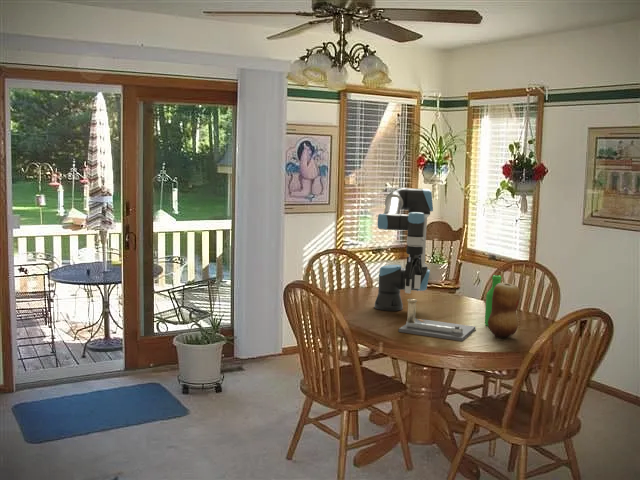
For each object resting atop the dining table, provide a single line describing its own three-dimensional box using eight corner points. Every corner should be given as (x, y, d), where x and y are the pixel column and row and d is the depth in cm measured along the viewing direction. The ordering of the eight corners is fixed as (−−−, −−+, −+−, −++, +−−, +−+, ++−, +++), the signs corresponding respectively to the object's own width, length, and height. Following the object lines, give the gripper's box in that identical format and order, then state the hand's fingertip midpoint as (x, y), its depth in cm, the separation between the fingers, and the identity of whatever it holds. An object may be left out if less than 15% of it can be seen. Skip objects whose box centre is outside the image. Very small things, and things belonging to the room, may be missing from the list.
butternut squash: (515, 342, 305) (519, 287, 302) (485, 338, 310) (488, 284, 307) (518, 335, 318) (521, 282, 315) (488, 331, 323) (492, 279, 320)
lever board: (398, 331, 318) (398, 327, 317) (415, 321, 340) (415, 317, 339) (462, 341, 305) (462, 337, 304) (475, 329, 326) (475, 325, 326)
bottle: (492, 328, 330) (496, 277, 327) (480, 324, 337) (483, 274, 334) (506, 327, 334) (510, 276, 331) (494, 323, 341) (497, 273, 338)
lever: (463, 332, 312) (465, 304, 311) (460, 334, 308) (462, 306, 306) (408, 324, 324) (409, 298, 322) (404, 326, 319) (405, 299, 318)
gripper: (414, 248, 303) (411, 295, 306) (430, 243, 326) (428, 287, 328) (398, 247, 306) (395, 294, 309) (415, 242, 329) (413, 286, 331)
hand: (412, 290), depth 318 cm, fingers open, 13 cm apart
